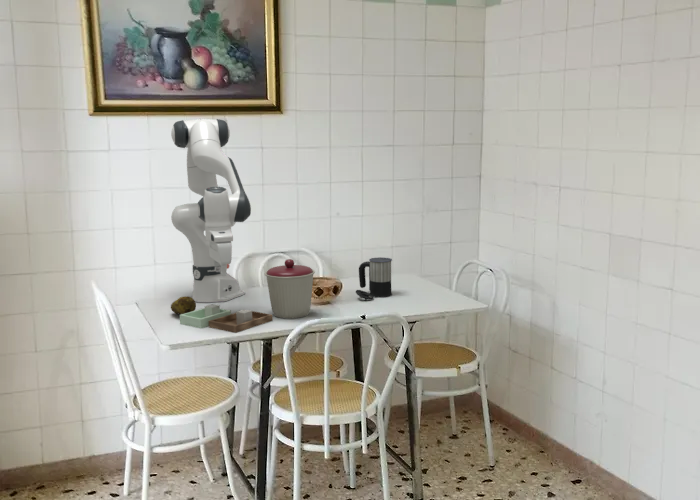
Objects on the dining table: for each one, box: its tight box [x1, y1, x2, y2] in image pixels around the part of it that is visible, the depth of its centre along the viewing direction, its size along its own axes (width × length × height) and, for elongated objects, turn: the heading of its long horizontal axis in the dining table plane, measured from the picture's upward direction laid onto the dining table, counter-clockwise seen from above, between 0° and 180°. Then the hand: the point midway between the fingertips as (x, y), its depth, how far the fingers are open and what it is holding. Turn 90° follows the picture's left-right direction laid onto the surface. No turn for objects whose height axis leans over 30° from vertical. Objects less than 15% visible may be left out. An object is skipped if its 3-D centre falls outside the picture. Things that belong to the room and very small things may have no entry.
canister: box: [264, 258, 316, 320], centre depth 265 cm, size 18×18×21 cm
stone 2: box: [235, 309, 253, 325], centre depth 253 cm, size 4×4×5 cm
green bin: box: [179, 307, 232, 329], centre depth 259 cm, size 14×11×4 cm
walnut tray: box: [208, 309, 274, 334], centre depth 255 cm, size 18×13×3 cm
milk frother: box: [355, 257, 393, 301], centre depth 293 cm, size 14×16×15 cm
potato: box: [170, 295, 197, 316], centre depth 270 cm, size 8×13×8 cm, turn 20°
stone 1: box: [203, 303, 221, 317], centre depth 262 cm, size 4×4×5 cm
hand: (220, 273), depth 256 cm, fingers open, 8 cm apart
